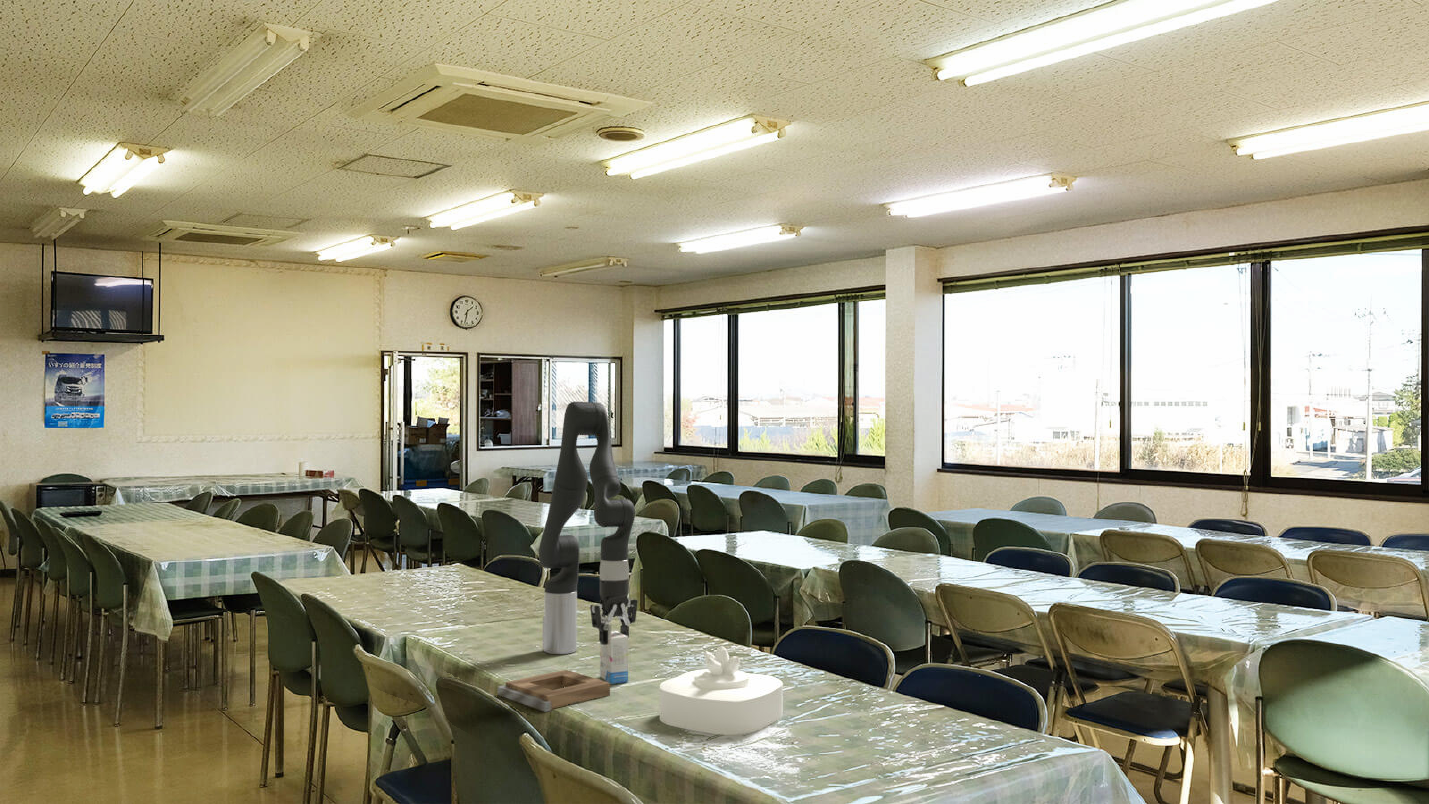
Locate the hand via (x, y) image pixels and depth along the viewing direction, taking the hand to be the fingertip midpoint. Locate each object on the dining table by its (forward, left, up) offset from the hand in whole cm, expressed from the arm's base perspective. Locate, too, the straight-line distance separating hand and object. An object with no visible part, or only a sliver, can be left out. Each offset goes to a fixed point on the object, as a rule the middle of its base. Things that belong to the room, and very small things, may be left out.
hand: (614, 642), depth 268 cm
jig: (+2, -19, -10) cm, 21 cm away
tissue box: (+42, -2, -10) cm, 43 cm away
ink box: (0, 0, -10) cm, 10 cm away
